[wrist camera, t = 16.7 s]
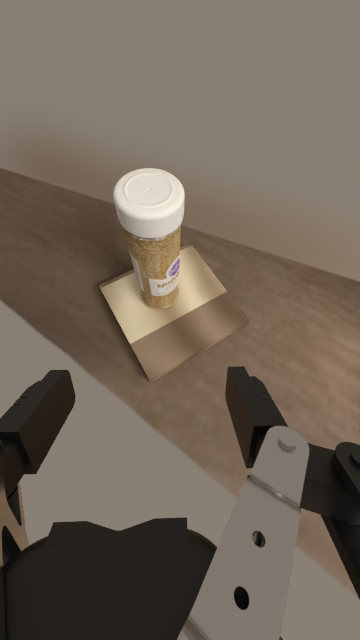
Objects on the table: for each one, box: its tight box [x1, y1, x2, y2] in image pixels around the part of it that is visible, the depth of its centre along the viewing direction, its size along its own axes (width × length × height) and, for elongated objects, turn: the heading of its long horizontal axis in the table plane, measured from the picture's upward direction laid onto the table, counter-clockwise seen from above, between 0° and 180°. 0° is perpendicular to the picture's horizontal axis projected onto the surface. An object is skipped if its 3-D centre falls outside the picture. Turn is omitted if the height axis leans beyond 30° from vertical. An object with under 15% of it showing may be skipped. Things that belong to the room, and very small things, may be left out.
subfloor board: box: [99, 243, 249, 382], centre depth 26 cm, size 13×13×2 cm
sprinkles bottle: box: [113, 168, 185, 310], centre depth 20 cm, size 5×5×14 cm
